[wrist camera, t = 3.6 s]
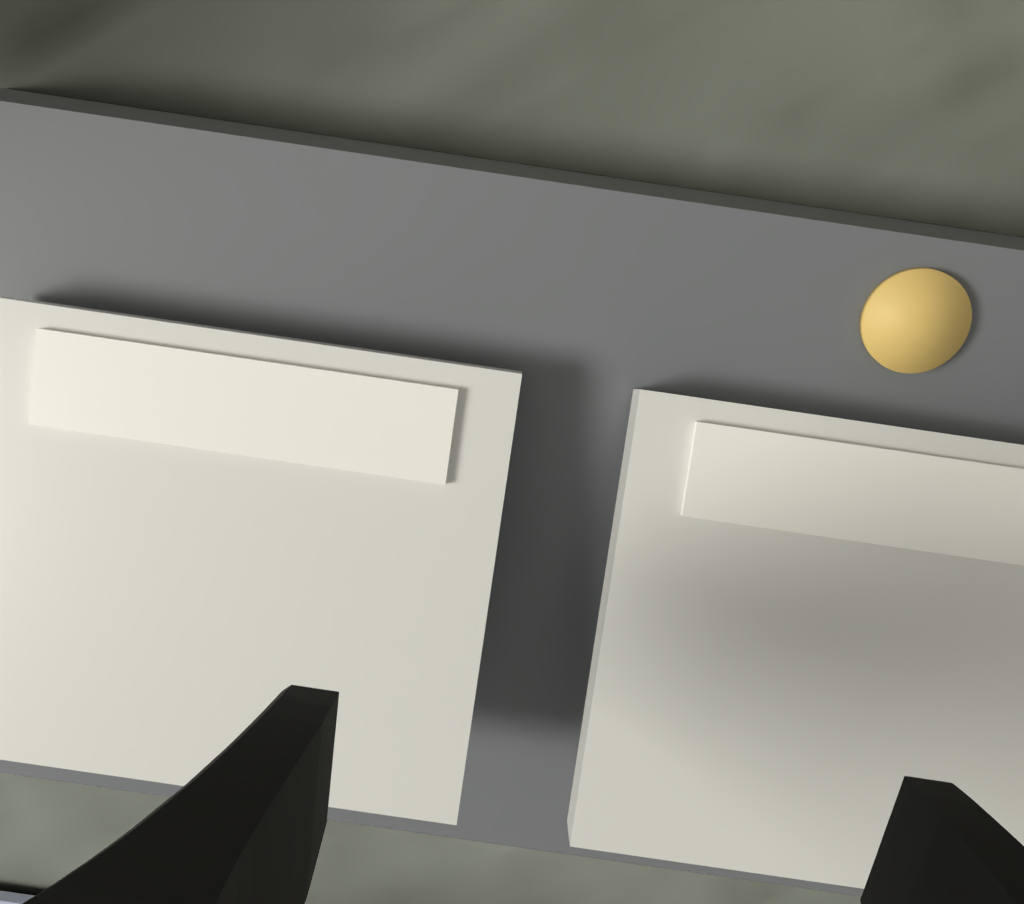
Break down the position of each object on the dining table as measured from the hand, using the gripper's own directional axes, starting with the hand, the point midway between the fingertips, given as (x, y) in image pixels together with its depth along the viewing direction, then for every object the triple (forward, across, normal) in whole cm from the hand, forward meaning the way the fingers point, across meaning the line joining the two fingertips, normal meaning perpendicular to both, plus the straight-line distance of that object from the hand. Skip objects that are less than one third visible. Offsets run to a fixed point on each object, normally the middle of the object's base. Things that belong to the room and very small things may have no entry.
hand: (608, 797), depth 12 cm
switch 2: (+5, -5, 0) cm, 7 cm away
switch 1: (+5, +6, 0) cm, 8 cm away
